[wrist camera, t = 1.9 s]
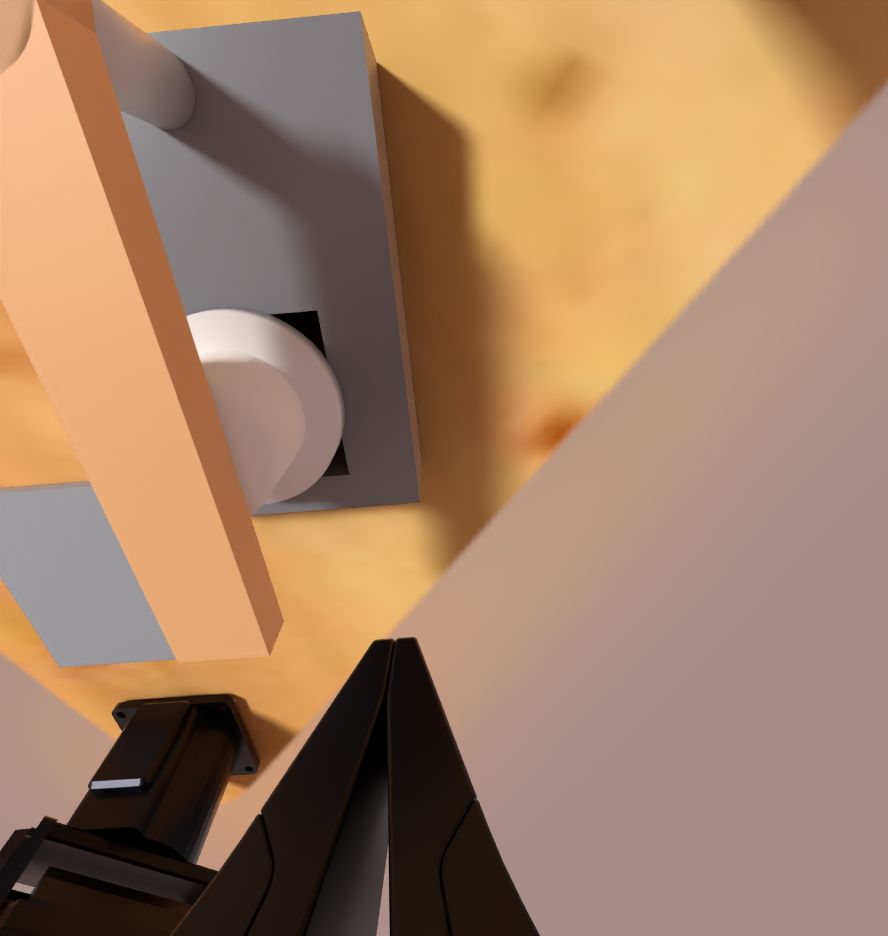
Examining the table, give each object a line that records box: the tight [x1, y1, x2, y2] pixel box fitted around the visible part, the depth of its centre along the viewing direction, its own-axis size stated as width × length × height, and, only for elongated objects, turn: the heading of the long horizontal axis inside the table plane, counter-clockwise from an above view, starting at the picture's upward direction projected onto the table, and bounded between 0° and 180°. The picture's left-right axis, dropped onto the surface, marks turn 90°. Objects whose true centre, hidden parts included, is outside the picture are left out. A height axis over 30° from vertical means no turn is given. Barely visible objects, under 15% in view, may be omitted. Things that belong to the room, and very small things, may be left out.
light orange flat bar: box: [0, 0, 284, 663], centre depth 9 cm, size 14×3×1 cm, turn 5°
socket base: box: [91, 0, 422, 515], centre depth 13 cm, size 13×10×7 cm
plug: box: [186, 307, 345, 516], centre depth 14 cm, size 6×6×7 cm
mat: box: [0, 481, 176, 667], centre depth 21 cm, size 10×9×1 cm
